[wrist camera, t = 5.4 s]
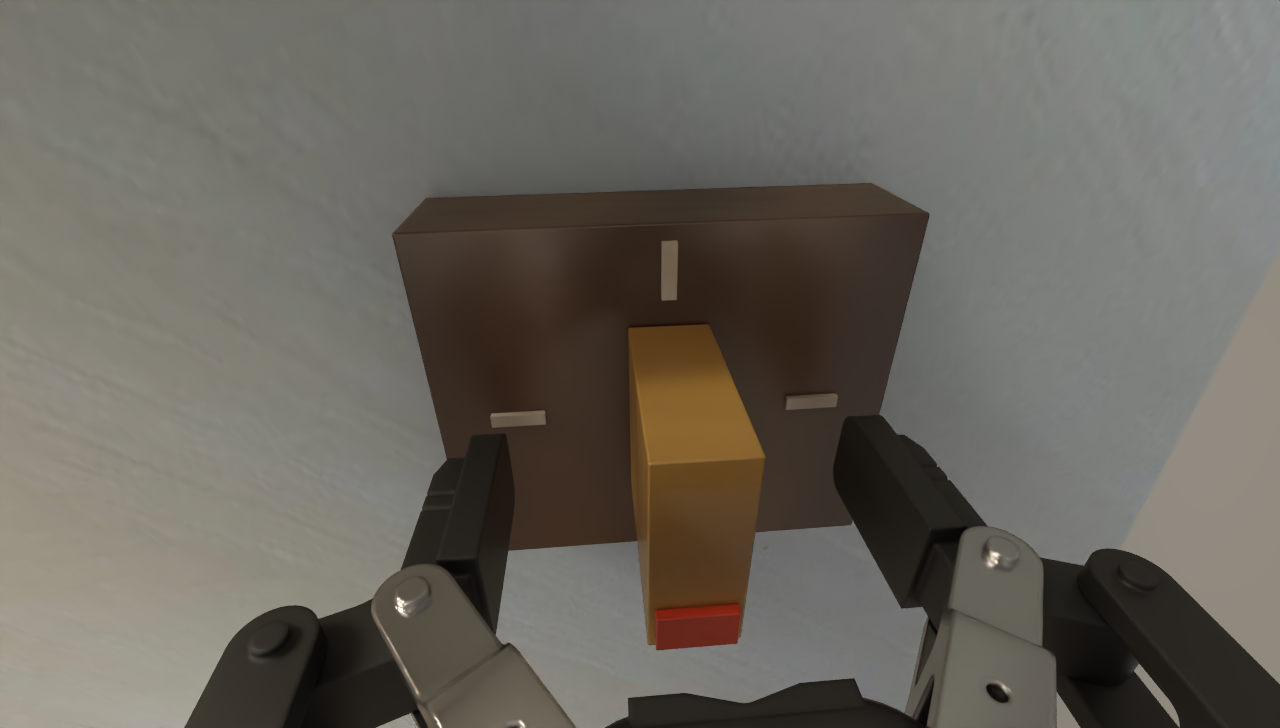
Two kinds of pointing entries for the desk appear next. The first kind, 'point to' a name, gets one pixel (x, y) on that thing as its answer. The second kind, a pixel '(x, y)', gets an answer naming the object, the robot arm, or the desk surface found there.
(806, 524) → the panel
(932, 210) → the desk surface
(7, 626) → the desk surface
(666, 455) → the selector knob
